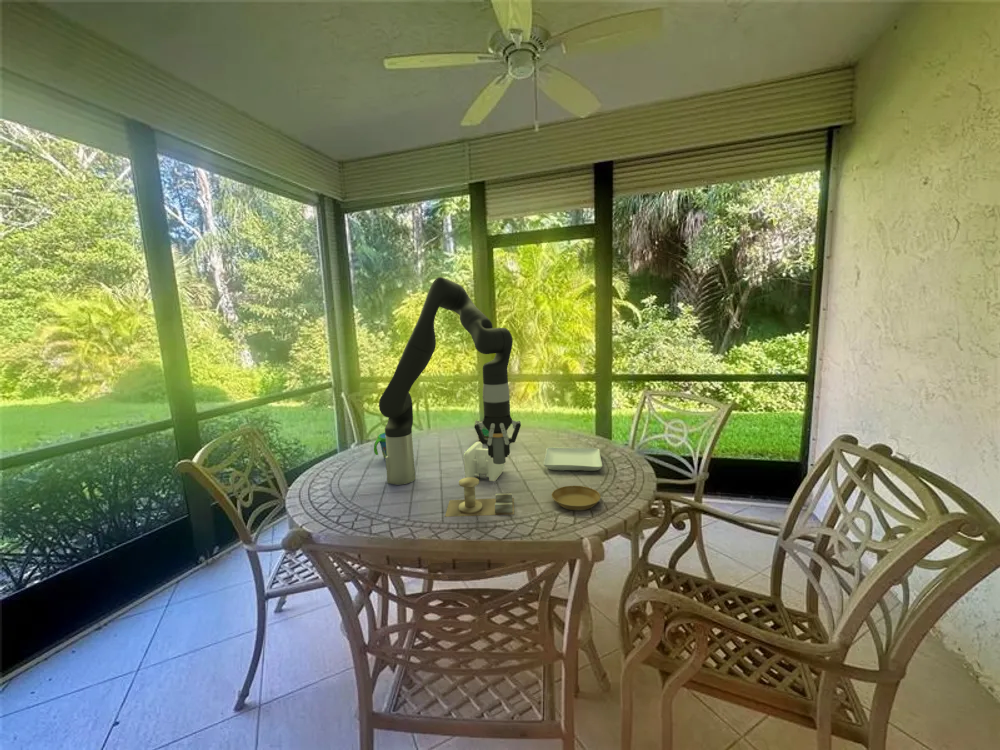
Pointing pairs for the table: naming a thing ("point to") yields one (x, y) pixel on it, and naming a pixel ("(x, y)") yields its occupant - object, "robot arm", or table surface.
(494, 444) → the spice jar
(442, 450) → the table surface
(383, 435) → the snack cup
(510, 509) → the winding board
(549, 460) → the salad plate
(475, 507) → the bobbin
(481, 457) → the cable organizer
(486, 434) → the food container
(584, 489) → the plant saucer
